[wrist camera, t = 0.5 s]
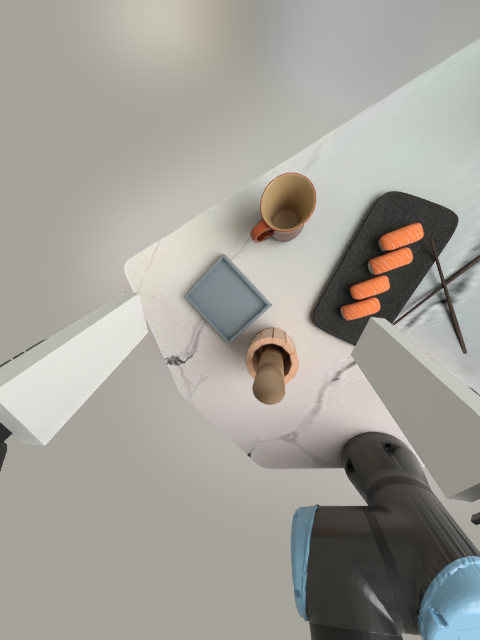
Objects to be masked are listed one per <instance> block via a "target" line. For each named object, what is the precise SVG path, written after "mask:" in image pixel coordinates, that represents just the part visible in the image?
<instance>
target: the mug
mask: <svg viewBox="0 0 480 640" xmlns="http://www.w3.org/2000/svg"><path fill="white" fill-rule="evenodd" d="M315 205H316V192H315V189H314V186H313V184H312V183H311V181H310V180H309V179H308V178H307V177H305V176H304V175H301V174H299V173H285V174H282V175H280V176H278V177H276V178H275V179H274V180H272V181H271V182H270V183H269V184H268V186H267V187H266V189H265V190H264V192H263V195H262V198H261V203H260V212H261V215H262V219H261V220H260V222H259V223H258V224H257V225H256V226H255V227H254V228H253V229H252V231H251V233H250V237H251V239H252V241H253V242H255V243H260V242H262V241H264V240H266V239H269V238H271V237H273V238H274V239H275V240H277V241H281V242H286V241H290V240H292V239H294V238H295V237H296V236H297V235H298V234H299V233H300V232H301V231H302V229H303V227H304V224H305V223H306V222H307V221H308V220H309V218H310V217H311V215H312V213H313V211H314V208H315Z"/></svg>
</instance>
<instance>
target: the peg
mask: <svg viewBox="0 0 480 640" xmlns="http://www.w3.org/2000/svg"><path fill="white" fill-rule="evenodd" d="M253 393H254V395H255V397H256V398H257V399H258V400H259V401H260V402H262V403H264V404H268V405H272V404H276V403H278V402H280V401H281V400H282V399H283V397H284V395H285V382H284V367H283V351H282V346H279V345H276V344H273V343H271V344H265V345H264V347H263V351H262V354H261V358H260V361H259V365H258V369H257V372H256V376H255V379H254V383H253Z"/></svg>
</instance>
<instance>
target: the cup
mask: <svg viewBox="0 0 480 640" xmlns="http://www.w3.org/2000/svg"><path fill="white" fill-rule="evenodd" d="M271 343H273V344H276V345H279V346H282V351H283V367H284V382H285V384H286V383H288V382H289V381H291V380H292V379H293V378H294V377H295V375H296V372H297V370H298V367H299V362H298V358H297V353H296V349H295V346H294V343H293V340H292V338H291V337H290V336H289V335H288V334H287V333H286V332H284V331H283V330H280V329H277V328H274V329H273V328H269V329H264V330H262V331H261V332H260V333H259V334H257V335H256V336H255V338H254V340H253V341H252V343H251V345H250V347H249V349H248V353H247V356H246V360H245V361H246V365H247V369H248V372H249V374H250V375H251V376H252V377H253V378H254V379H255V376H256V372H257V369H258V365H259V361H260V358H261V354H262V351H263V347H264V345H265V344H271Z"/></svg>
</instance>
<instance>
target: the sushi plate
mask: <svg viewBox="0 0 480 640" xmlns="http://www.w3.org/2000/svg"><path fill="white" fill-rule="evenodd" d="M457 224H458V216H457V215H456V214H455V213H454V212H453V211H451V210H450V209H448V208H446V207H443V206H441V205H439V204H436V203H433V202H430V201H428V200H425V199H422V198H419V197H416V196H413V195H410V194H407V193H403V192H397V191H392V192H387V193H386V194H384V195H383V196H382V197H381V198H380V199H379V200H378V201H377V203H376V204H375V205H374V207H373V209H372V210H371V212H370V213H369V215H368V217H367V219H366V220H365V222H364V224H363V226H362V227H361V229H360V231H359V233H358V234H357V236H356V238H355V240H354V241H353V243H352V245H351V247H350V249H349V250H348V252H347V254H346V256H345V257H344V259H343V261H342V263H341V264H340V266H339V268H338V270H337V272H336V273H335V275H334V277H333V279H332V280H331V282H330V284H329V286H328V287H327V289H326V291H325V293H324V295H323V296H322V298H321V300H320V302H319V304H318V306H317V308H316V310H315V312H314V315H313V322H314V323H315V325H316V326H318V327H319V328H320V329H322V330H324V331H325V332H327V333H329V334H331V335H333V336H335V337H337V338H340V339H342V340H344V341H346V342H348V343H350V344H353V345H355V346H356V344H357V342H358V340H359V338H360V336H361V334H362V333H363V331H364V329H365V327H366V325H367V323H368V321H369V319H370V317H375V318H385V319H386V320H387V321H388V322H390V323H391V324H392V323H393V322H394V320H395V319H396V317H397V316H398V314H399V313H400V311H401V310H402V309H403V307H404V306H405V304H406V303H407V301H408V300H409V298H410V297H411V295H412V294H413V293H414V291H415V290H416V288H417V287H418V285H419V284H420V282H421V281H422V279H423V278H424V277H425V275H426V274H427V272H428V271H429V269H430V268H431V266H432V265H433V264H434V262H435V261H436V264H437V267H438V271H439V274H440V278H441V281H442V285H441V286H440V287H439V288H437V289H436V290H435V291H434V292H432V293H431V294H430V295H429V296H427V297H426V298H425V299H424V300H422V301H421V302H420V303H418V304H417V305H416V306H415V307H413V308H412V309H411V310H410V311H408V312H407V313H406V314H404V315H403V316H402V317H401V318H399V319H398V320H397V321H395V322H394V323H393V324H392V325H393V326H394V325H395V324H396V323H398V322H399V321H400V320H401V319H403V318H404V317H405V316H407V315H408V314H409V313H411V312H412V311H413V310H415V309H416V308H417V307H418V306H420V305H421V304H422V303H424V302H425V301H426V300H428V299H429V298H430V297H432V296H433V295H434V294H436V293H437V292H438V291H439V290H441V289H442V288H443V289H444V292H445V296H446V299H447V303H448V307H449V311H450V315H451V318H452V322H453V326H454V329H455V332H456V335H457V337H458V340H459V343H460V345H461V348H462V351H463V353H464V354H465V353H467V351H466V347H465V344H464V341H463V337H462V334H461V331H460V328H459V324H458V321H457V318H456V315H455V312H454V309H453V306H452V303H451V299H450V296H449V293H448V290H447V286H446V285H447V284H449V283H450V282H451V281H453V280H454V279H456V278H457V277H458V276H460V275H461V274H462V273H464V272H465V271H466V270H468V269H469V268H470V267H472V266H473V265H474V264H475V263H477V262H478V261H479V260H480V256H479V257H477V258H476V259H475V260H473V261H472V262H470V263H469V264H468V265H466V266H465V267H464V268H462V269H461V270H460V271H459V272H457V273H456V274H455V275H454V276H452V277H451V278H450V279H449V280H447V281H446V282H445V280H444V276H443V273H442V270H441V266H440V263H439V259H438V256H439V255H440V253H441V252H442V250H443V249H444V247H445V246H446V244H447V243H448V241H449V240H450V238H451V237H452V235H453V233H454V232H455V230H456V227H457Z"/></svg>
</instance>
